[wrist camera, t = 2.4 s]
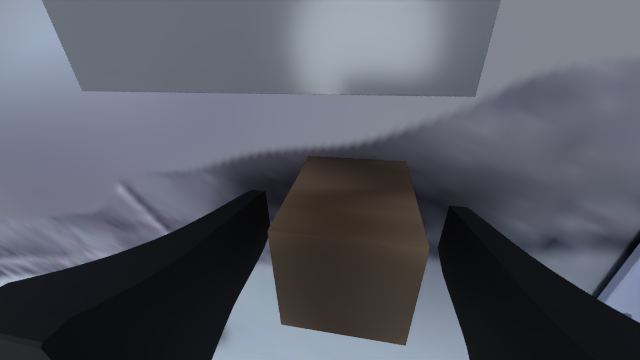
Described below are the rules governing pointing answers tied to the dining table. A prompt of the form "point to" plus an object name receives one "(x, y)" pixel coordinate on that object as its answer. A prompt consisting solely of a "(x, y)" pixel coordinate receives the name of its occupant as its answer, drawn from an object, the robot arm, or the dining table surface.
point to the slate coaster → (277, 45)
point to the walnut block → (349, 249)
